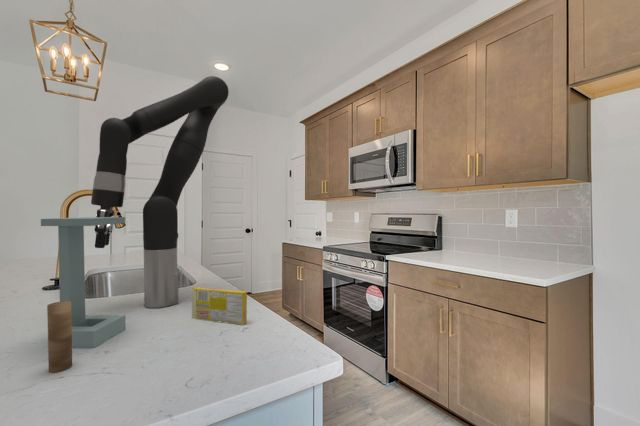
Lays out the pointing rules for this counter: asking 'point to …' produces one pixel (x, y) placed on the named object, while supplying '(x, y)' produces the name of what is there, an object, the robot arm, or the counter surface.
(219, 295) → the candy box
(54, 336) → the peg
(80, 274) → the socket stand
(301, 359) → the counter surface
